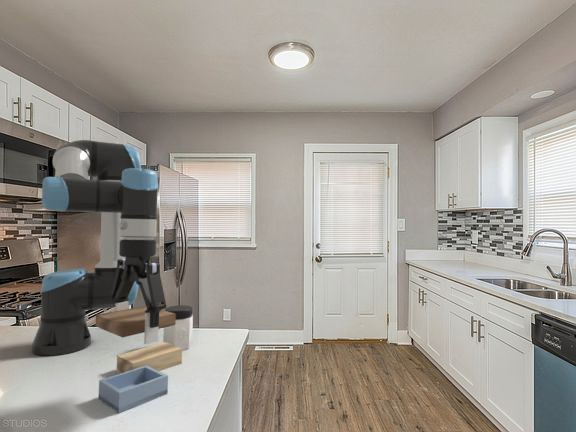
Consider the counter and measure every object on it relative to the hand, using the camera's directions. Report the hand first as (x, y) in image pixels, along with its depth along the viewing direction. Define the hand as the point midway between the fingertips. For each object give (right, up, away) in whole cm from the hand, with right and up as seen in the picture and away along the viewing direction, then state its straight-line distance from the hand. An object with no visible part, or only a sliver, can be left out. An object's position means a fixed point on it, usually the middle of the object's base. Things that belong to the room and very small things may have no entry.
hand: (135, 336), depth 78 cm
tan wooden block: (-3, -14, +16) cm, 21 cm away
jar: (0, -14, +32) cm, 35 cm away
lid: (0, +2, 0) cm, 2 cm away
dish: (0, -13, 0) cm, 13 cm away
